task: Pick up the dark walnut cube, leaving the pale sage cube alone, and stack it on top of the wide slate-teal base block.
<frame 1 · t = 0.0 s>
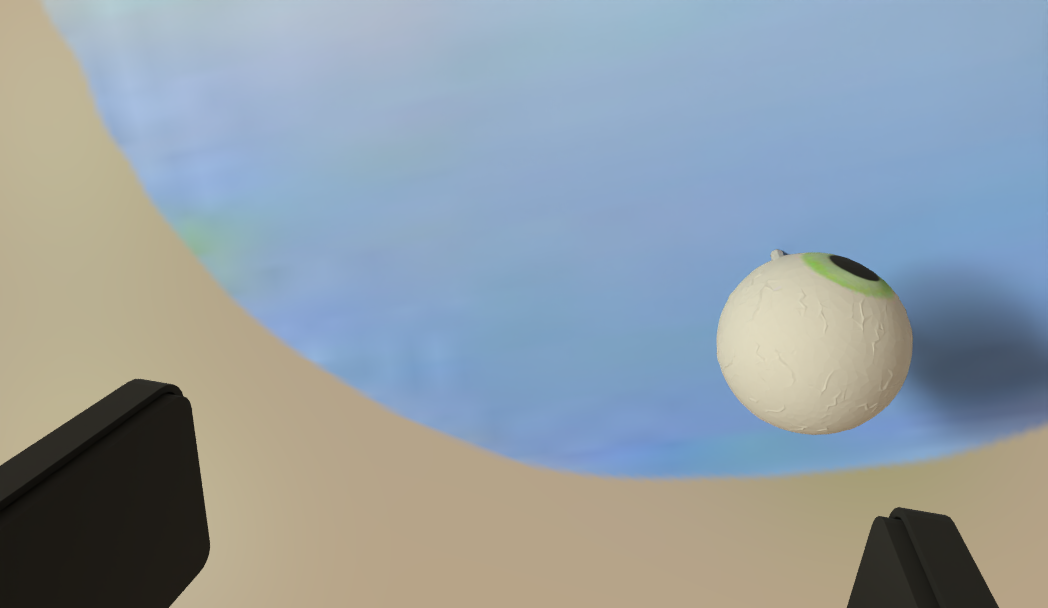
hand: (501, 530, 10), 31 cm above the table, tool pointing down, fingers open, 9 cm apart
lollipop: (776, 254, 39), on the table
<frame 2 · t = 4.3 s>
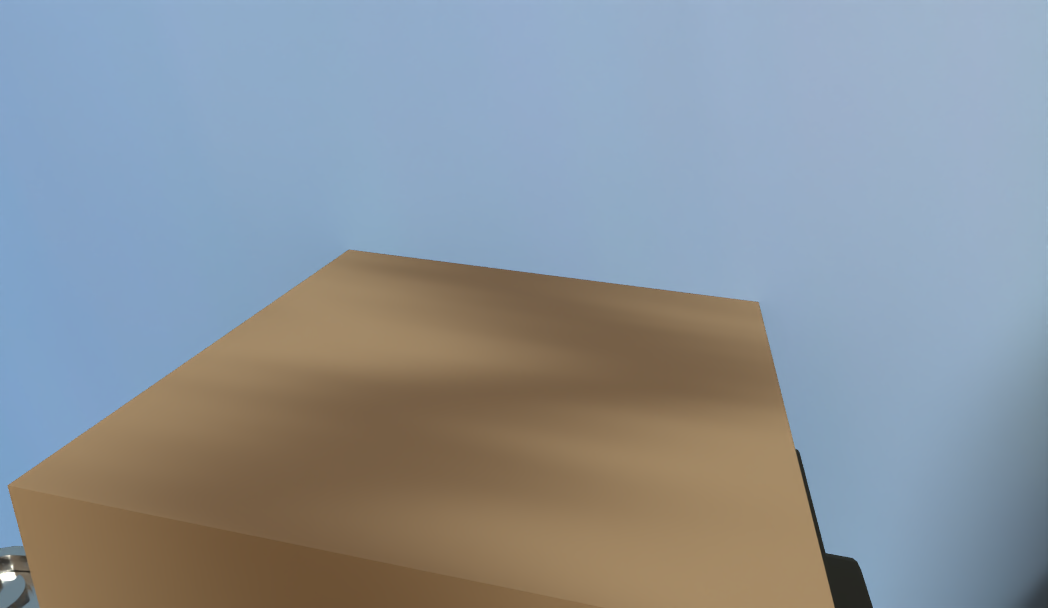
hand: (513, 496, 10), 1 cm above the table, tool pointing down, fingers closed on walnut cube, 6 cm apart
walnut cube: (530, 450, 11), on the table, touching gripper
when the fingers open (5 cm above the table, at t = 12.1 s): walnut cube stays where it is, point 3 cm above the table.
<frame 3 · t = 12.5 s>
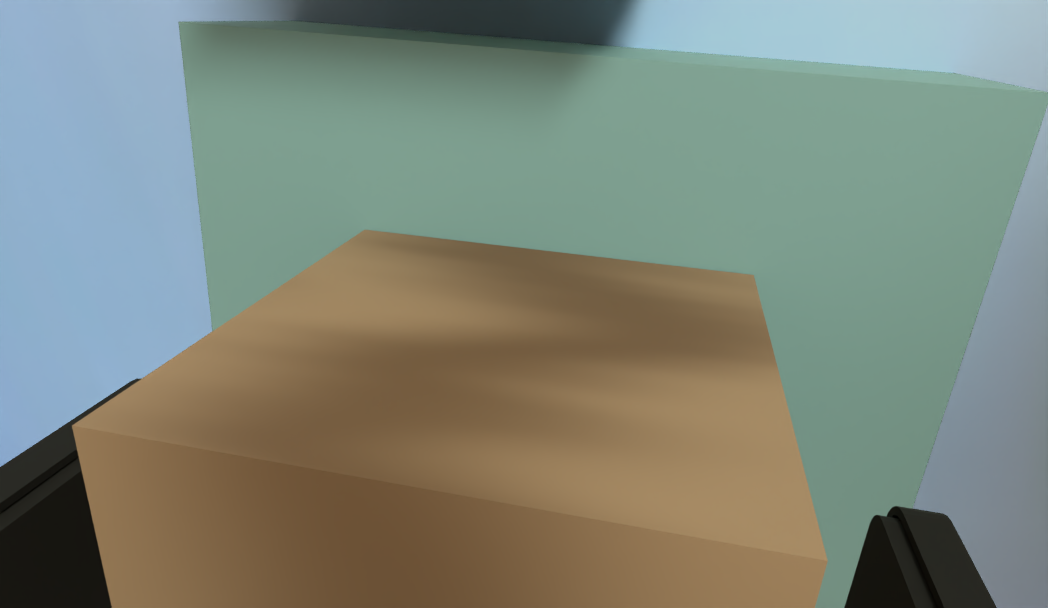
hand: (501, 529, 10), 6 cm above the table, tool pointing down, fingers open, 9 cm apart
walnut cube: (538, 420, 12), point 3 cm above the table
base block: (572, 333, 16), on the table
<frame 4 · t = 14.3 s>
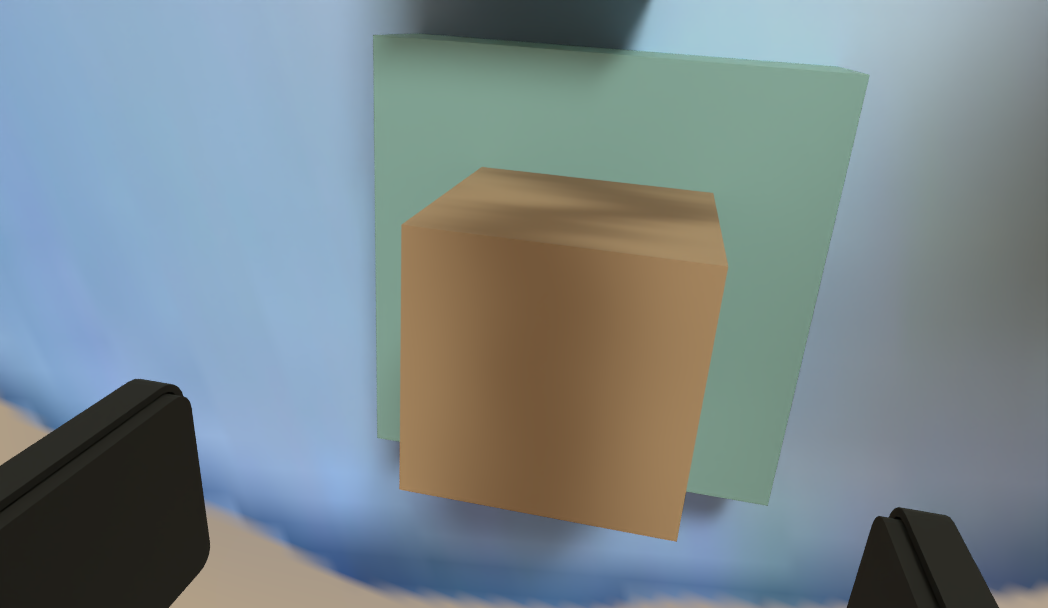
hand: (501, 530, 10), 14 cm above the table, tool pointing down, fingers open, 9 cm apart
walnut cube: (582, 288, 20), point 3 cm above the table
base block: (598, 244, 23), on the table
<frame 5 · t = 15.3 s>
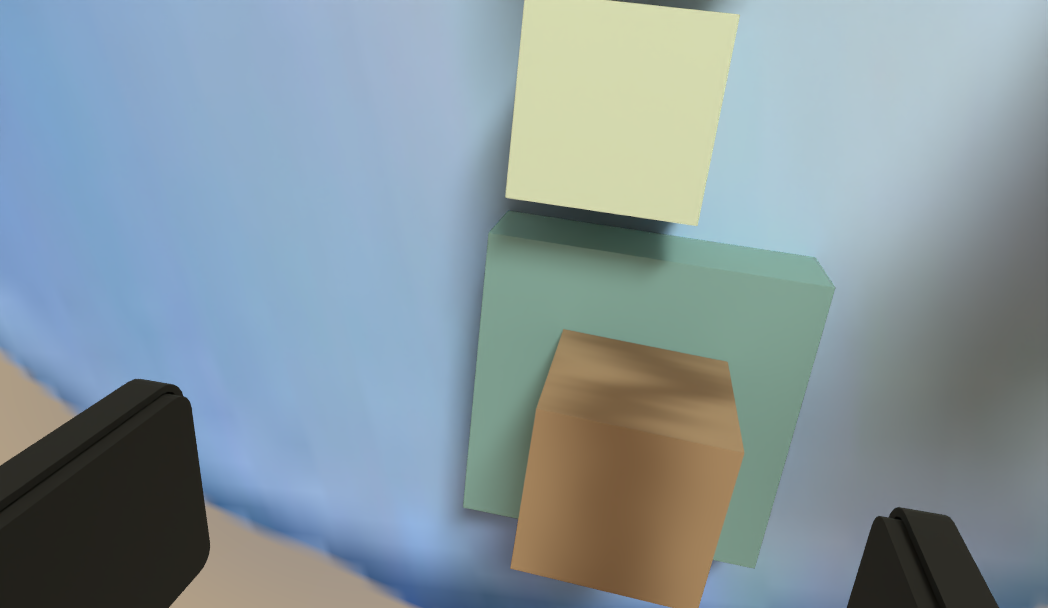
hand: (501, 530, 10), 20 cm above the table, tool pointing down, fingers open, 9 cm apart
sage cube: (624, 95, 27), on the table
walnut cube: (628, 415, 27), point 4 cm above the table, touching base block
base block: (633, 364, 31), on the table, touching walnut cube
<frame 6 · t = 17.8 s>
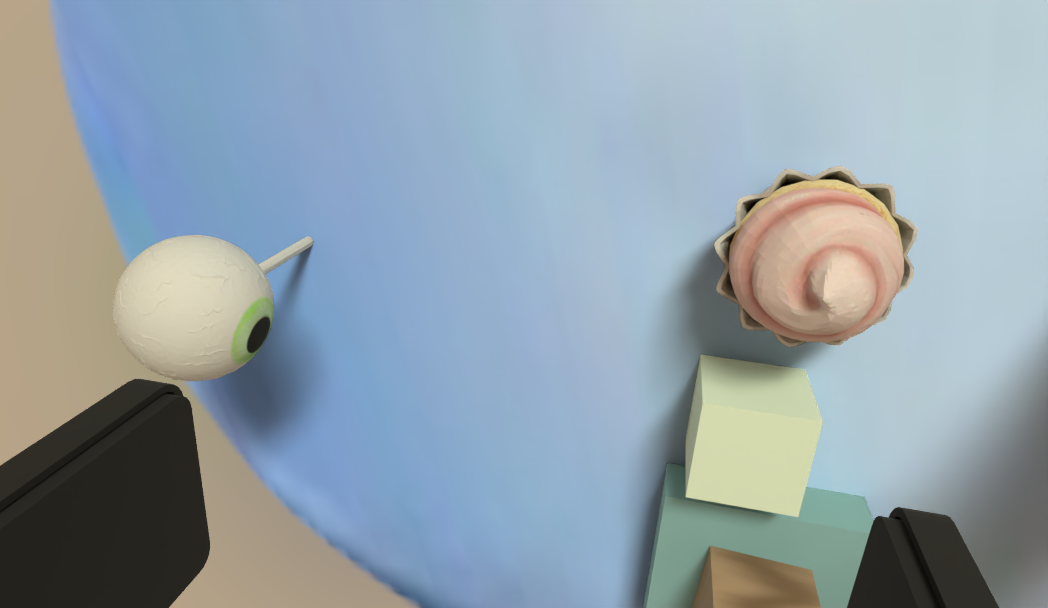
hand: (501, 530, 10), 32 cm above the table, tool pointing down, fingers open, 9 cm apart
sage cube: (743, 405, 44), on the table
cupcake: (797, 232, 39), on the table
walnut cube: (748, 595, 44), point 4 cm above the table, touching base block
base block: (745, 550, 48), on the table, touching walnut cube
lollipop: (309, 240, 46), on the table
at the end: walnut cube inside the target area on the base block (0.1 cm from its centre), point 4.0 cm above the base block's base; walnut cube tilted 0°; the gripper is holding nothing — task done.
